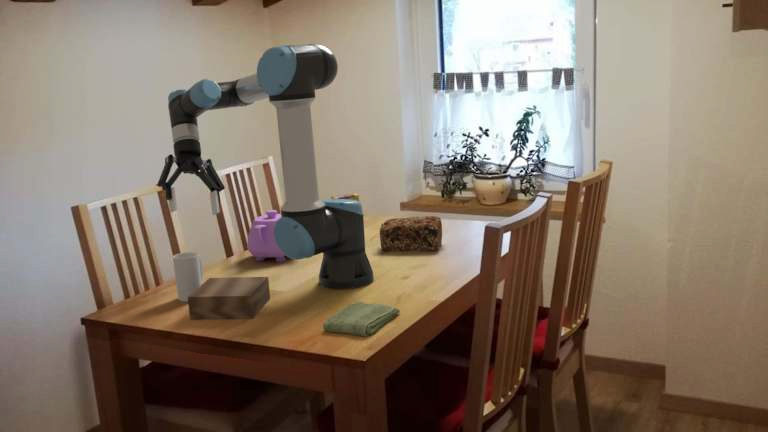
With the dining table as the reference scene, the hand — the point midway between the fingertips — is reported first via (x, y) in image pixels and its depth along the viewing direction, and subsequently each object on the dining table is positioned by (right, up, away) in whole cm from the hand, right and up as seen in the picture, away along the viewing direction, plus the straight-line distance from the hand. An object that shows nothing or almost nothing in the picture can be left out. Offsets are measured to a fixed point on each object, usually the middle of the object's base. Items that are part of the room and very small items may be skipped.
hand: (195, 212), depth 227 cm
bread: (+62, -11, +28) cm, 69 cm away
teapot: (+20, -15, +25) cm, 35 cm away
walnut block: (+14, -25, -21) cm, 36 cm away
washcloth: (+48, -27, -37) cm, 66 cm away
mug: (+2, -23, -9) cm, 25 cm away
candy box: (+41, -9, +44) cm, 61 cm away
